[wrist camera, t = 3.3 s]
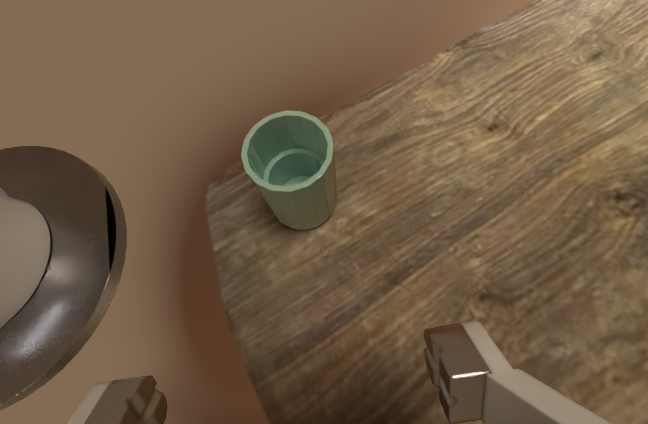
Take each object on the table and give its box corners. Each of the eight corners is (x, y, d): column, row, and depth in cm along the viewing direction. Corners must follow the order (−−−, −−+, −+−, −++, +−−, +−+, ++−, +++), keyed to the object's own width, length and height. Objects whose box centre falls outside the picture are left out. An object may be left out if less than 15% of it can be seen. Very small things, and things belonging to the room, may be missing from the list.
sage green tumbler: (281, 240, 27) (252, 203, 19) (266, 181, 29) (233, 125, 21) (345, 220, 27) (345, 174, 19) (325, 164, 29) (318, 100, 21)
